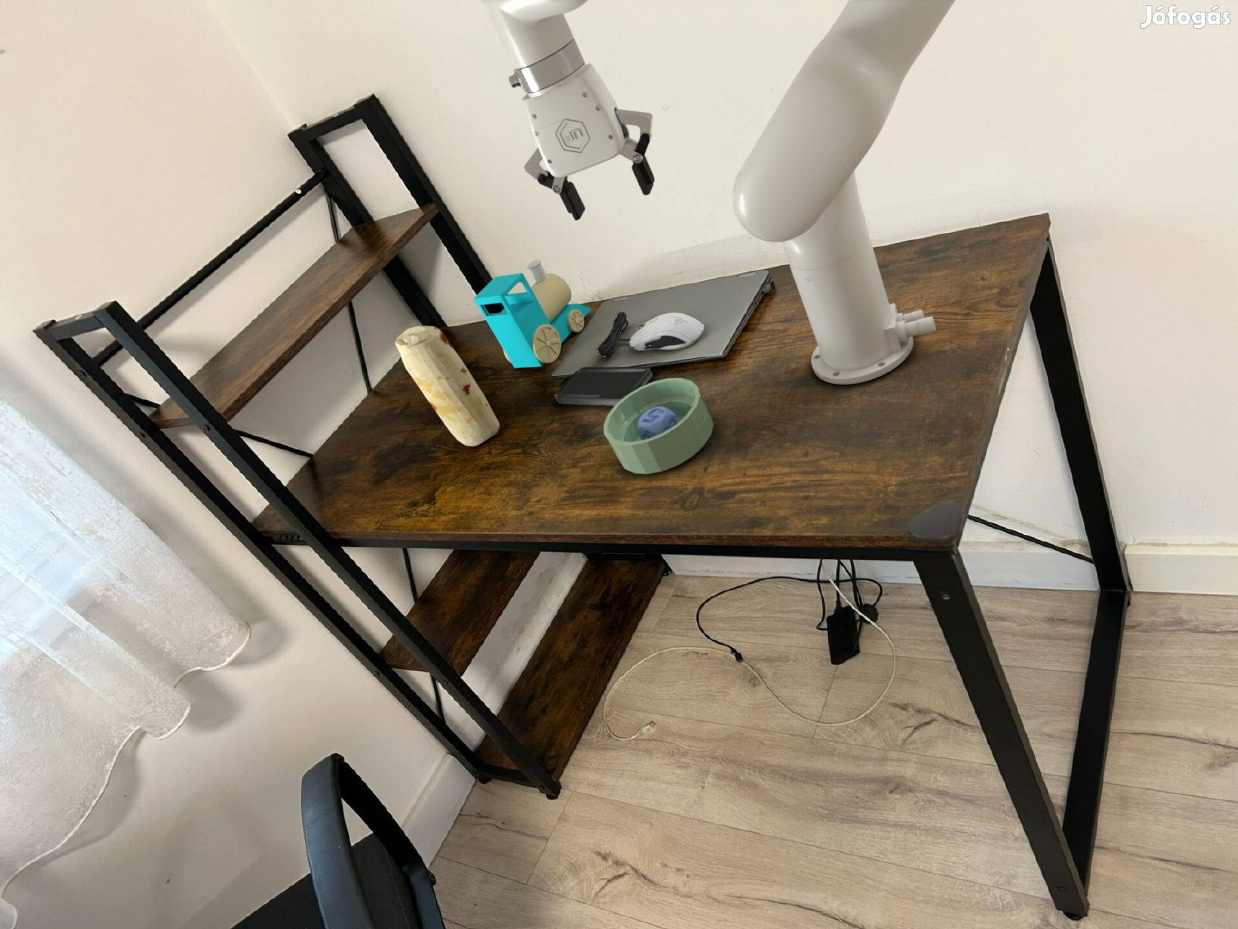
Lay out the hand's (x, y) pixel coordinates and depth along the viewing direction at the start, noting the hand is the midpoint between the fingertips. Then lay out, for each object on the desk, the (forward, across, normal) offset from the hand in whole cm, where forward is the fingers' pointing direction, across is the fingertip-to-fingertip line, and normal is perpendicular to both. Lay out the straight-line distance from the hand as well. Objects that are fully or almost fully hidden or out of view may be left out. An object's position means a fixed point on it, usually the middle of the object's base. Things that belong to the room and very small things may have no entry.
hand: (614, 203), depth 109 cm
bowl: (+27, -2, -14) cm, 31 cm away
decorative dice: (+27, -2, -14) cm, 31 cm away
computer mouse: (+27, -9, +13) cm, 32 cm away
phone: (+27, -15, +2) cm, 31 cm away
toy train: (+27, -29, +22) cm, 46 cm away
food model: (+27, -36, -2) cm, 45 cm away
